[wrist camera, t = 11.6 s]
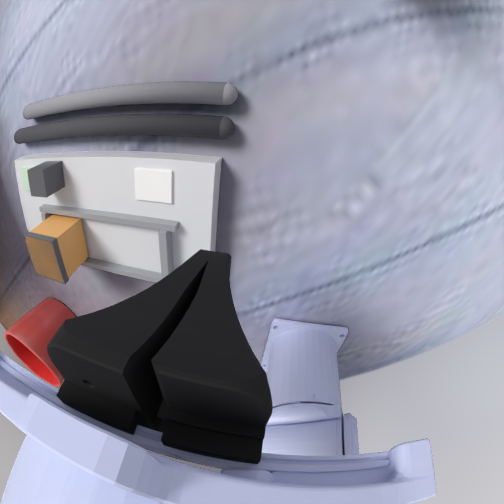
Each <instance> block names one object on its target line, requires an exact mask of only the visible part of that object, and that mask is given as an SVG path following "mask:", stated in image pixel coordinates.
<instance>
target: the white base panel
mask: <svg viewBox="0 0 504 504" xmlns="http://www.w3.org/2000/svg"><path fill="white" fill-rule="evenodd" d="M14 161H15V169H16V176H17V182H18V188H19V194H20V199H21V204H22V209H23V213H24V217H25V221H26V225H27V229H28V232H30V231H31V230H32V229H34V228H35V227H36V226H38V225H39V224H40V223H42V222H43V221H44V220H46V219H47V218H48V217H50V216H51V215H52V214H54V215H61V216H68V217H75V218H81V221H82V226H83V232H84V237H85V241H86V246H87V251H88V255H89V257H88V258H87V259H86V260H85V261H84V262H83V263H82V264H81V265H84V266H88V267H91V268H95V269H99V270H103V271H108V272H112V273H116V274H120V275H124V276H129V277H133V278H137V279H142V280H146V281H151V282H156V283H157V282H158V281H160V280H161V279H163V278H164V277H166V276H167V275H168V274H170V273H171V272H172V271H174V270H175V269H176V268H178V267H179V266H180V265H182V264H183V263H184V262H185V261H187V260H188V259H189V258H190V257H191V256H193V255H194V254H195V253H196V252H198V251H199V250H200V249H203V250H209V251H215V250H216V232H217V216H218V202H219V188H220V175H221V163H222V157H215V156H204V155H193V154H181V153H165V152H144V151H72V152H53V153H39V154H28V155H25V156H23V157H21V158H18V159H16V160H14Z"/></svg>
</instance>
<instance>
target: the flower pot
mask: <svg viewBox="0 0 504 504" xmlns="http://www.w3.org/2000/svg"><path fill="white" fill-rule="evenodd" d="M75 317H76V316H75V315H74V314H73V313H72V311H71V310H70V309H69V308H68V307H67V306H65V305H64V304H63V303H61V302H60V301H58V300H56V299H54V298H47V299H45V300H44V301H43V302H41V303H40V304H38V305H37V306H36V307H34V308H33V309H32V310H30V311H29V312H28V313H27V314H25V315H24V316H23V317H22V318H21V319H19V320H18V321H17V322H16V323H15V324H13V325H12V326H11V327H10V328H9V329H8V330H7V331H6V332H5V338H6V340H7V342H8V344H9V346H10V347H11V349H12V350H13V352H14V353H15V354H16V355H17V357H18V358H19V359H20V360H21V361H22V362H23V363H24V364H25V365H26V366H27V367H28V368H29V369H30V370H32V371H33V372H34V373H35V374H36V375H38V376H39V377H40V378H42V379H43V380H45V381H46V382H48V383H50V384H52V385H54V386H57V387H60V386H61V385H62V382H63V380H64V378H63V377H62V375H61V374H60V372H59V371H58V370H57V368H56V367H55V365H54V364H53V362H52V361H51V359H50V357H49V355H48V352H47V345H48V344H49V342H50V341H51V339H52V338H53V336H54V335H55V333H56V332H57V331H58V329H59V328H60V326H61V325H62V324H63V322H64V321H65V320H66V319H71V318H75Z"/></svg>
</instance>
